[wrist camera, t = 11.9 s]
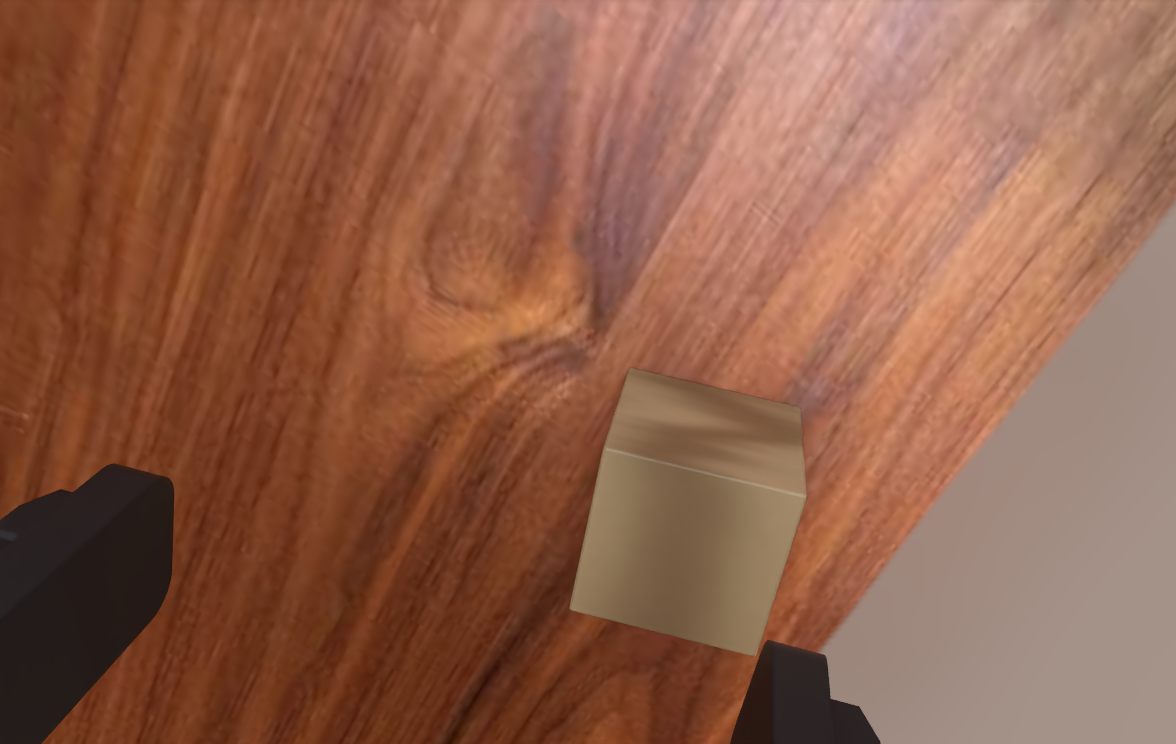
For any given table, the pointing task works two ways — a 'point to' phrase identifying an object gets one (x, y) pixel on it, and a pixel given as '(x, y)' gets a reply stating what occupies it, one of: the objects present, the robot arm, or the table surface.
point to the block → (692, 512)
